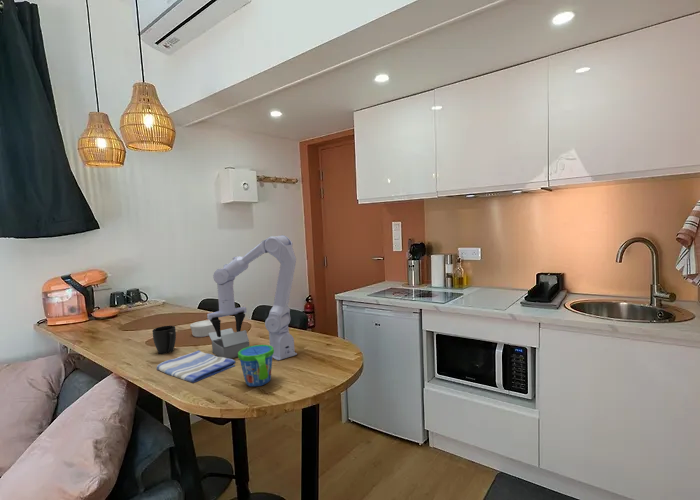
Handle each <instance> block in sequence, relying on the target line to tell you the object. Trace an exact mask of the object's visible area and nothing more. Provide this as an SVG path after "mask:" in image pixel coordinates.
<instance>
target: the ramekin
mask: <svg viewBox="0 0 700 500" xmlns="http://www.w3.org/2000/svg"><path fill="white" fill-rule="evenodd" d="M189 327H190V329H191V334H192V336H193V337H195V338H205V337H209V335H208V333H212V332H216V331H215V328H214V326H213V324H212V323H211V321H210V320H209V319H206V320H199V321H196V322H193V323H190V324H189Z"/></svg>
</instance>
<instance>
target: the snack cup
mask: <svg viewBox="0 0 700 500" xmlns="http://www.w3.org/2000/svg"><path fill="white" fill-rule="evenodd" d="M249 346H250V347H246V348H244V349H241V350H240V351H239V352H238V357H237V358H238V360H240V366H241V370H242V374H243V378H244V382H245V384H246V385H247V386H248V387H263V386H264V385H266V384H268V383H270V382H271V379H272V368H273V358H272V355H273V353H274V349H273V347H272V346H270V344H257V345H249Z"/></svg>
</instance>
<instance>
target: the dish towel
mask: <svg viewBox="0 0 700 500" xmlns="http://www.w3.org/2000/svg"><path fill="white" fill-rule="evenodd" d="M235 364H236V361H235V359H234V358H232V359H229V358H224V357H218V356H216V355H215V354H213V353H212V354H211V353H207V352H203V351H201V350H196V351H193V352H190V353H187V354H184V355H180V356H178V357H176V358H172V359H167V360H165V361H163V362H160V363H158V364H157V366H156V370H157V371H160V372H162V373H164V374H166V375H168V376H170V377H171V376H172V377H174V378H177V379H179V380H183V381H186V382H188V383H197V382H199V381H202V380H204V379H207V378H209V377H212V376H214V375H217V374H220V373H222V372H224V371H227V370H229V369H232V368H234V367H236V365H235Z"/></svg>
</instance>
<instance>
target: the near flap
mask: <svg viewBox="0 0 700 500" xmlns="http://www.w3.org/2000/svg"><path fill="white" fill-rule="evenodd" d="M247 332H248V331H247V330H246V329H245V330H241V331H239V332H237V331H234V333H231V334H227V335H222V336H221V338H222V342H223V346H224V348H225V347H229V346H233V345H236V344H240V343H244V342H250V341H249V336H248V333H247Z"/></svg>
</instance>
